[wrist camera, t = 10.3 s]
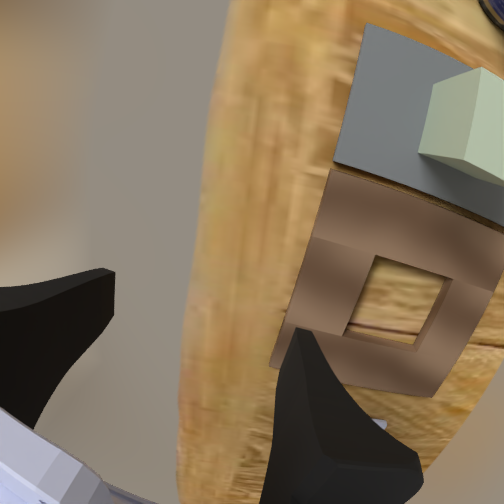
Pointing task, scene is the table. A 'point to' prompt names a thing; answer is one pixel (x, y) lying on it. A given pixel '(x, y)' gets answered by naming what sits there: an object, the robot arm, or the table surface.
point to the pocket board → (402, 250)
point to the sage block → (467, 125)
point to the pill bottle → (494, 11)
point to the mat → (405, 121)
